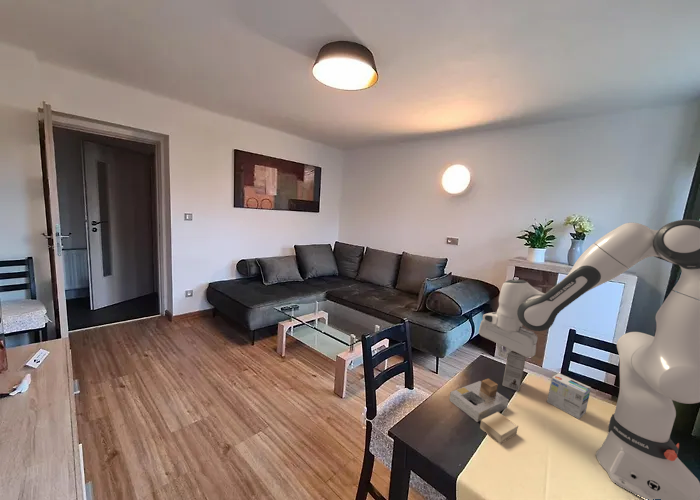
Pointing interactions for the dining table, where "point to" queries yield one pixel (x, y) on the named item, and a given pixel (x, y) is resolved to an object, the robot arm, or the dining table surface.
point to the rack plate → (477, 401)
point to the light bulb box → (569, 395)
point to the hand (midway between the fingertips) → (502, 356)
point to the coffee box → (514, 370)
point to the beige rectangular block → (498, 427)
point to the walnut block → (488, 387)
